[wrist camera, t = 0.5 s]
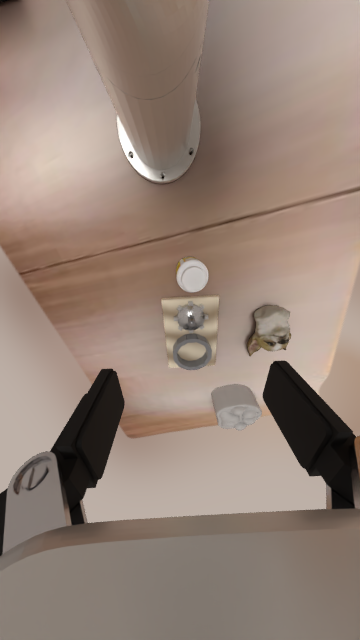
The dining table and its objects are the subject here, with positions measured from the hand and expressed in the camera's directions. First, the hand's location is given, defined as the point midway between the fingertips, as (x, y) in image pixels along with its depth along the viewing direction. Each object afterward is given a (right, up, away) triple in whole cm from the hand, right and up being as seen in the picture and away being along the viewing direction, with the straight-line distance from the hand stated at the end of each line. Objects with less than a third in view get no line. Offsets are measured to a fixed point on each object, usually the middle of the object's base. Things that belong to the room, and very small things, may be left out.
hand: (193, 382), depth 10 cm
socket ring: (+2, -4, +32) cm, 33 cm away
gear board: (+2, 0, +32) cm, 32 cm away
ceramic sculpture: (+21, +3, +32) cm, 38 cm away
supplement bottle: (+1, +15, +25) cm, 29 cm away
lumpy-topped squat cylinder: (+16, -21, +43) cm, 51 cm away
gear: (+2, +5, +28) cm, 28 cm away
